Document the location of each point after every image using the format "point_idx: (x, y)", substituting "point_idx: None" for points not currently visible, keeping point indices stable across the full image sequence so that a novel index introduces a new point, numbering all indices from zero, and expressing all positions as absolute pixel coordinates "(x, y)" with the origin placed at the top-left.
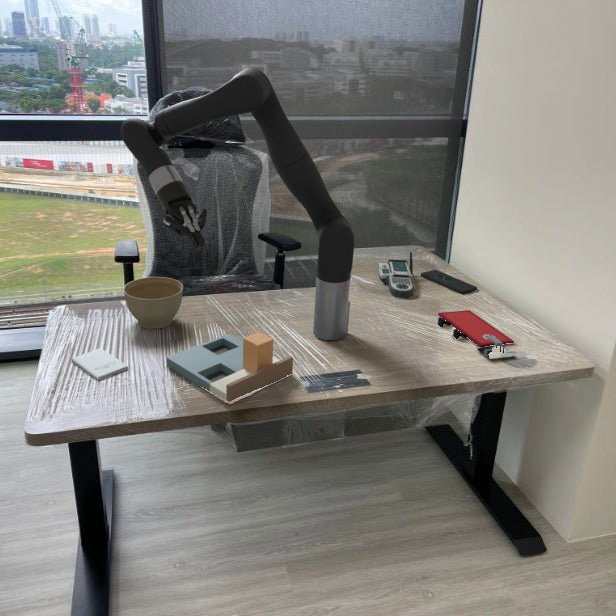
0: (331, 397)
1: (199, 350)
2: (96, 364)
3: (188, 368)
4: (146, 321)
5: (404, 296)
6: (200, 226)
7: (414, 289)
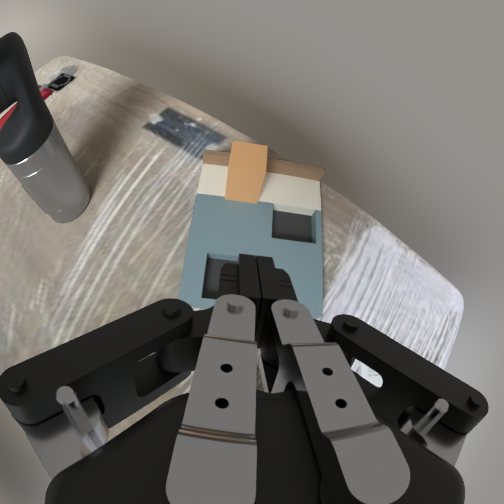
0: (217, 119)
1: None
2: None
3: (318, 262)
4: None
5: None
6: (192, 315)
7: None
